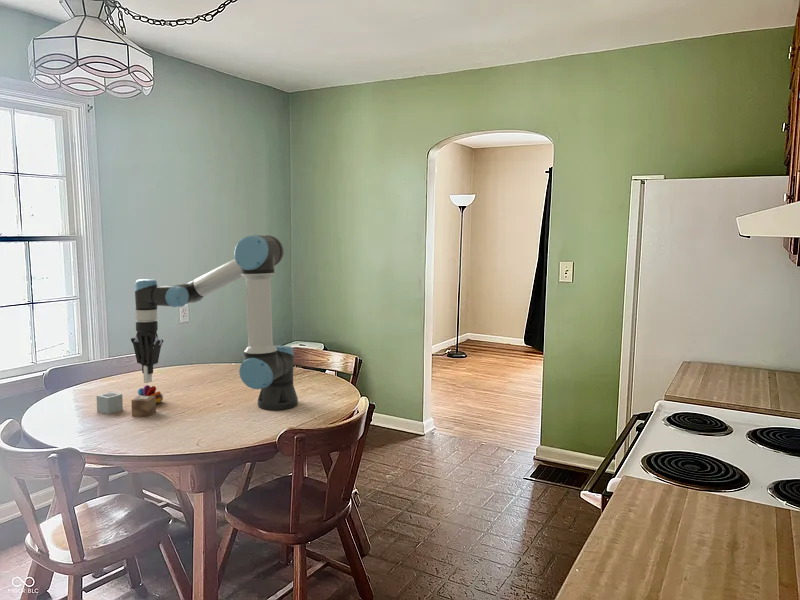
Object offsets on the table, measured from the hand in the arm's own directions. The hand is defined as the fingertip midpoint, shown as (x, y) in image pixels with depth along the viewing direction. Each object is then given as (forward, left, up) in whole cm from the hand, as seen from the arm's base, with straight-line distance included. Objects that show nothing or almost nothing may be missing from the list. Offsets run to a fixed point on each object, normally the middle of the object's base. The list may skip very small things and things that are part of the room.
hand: (147, 382), depth 224 cm
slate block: (+7, +12, -9) cm, 16 cm away
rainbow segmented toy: (0, 0, -9) cm, 9 cm away
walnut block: (-7, +11, -9) cm, 16 cm away
